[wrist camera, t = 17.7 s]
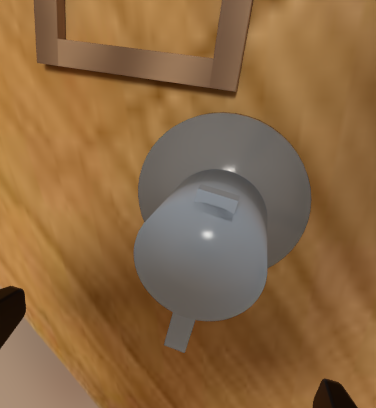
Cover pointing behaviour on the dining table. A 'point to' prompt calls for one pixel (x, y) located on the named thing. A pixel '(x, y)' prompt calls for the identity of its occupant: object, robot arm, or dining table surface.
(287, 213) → the disc
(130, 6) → the dining table surface
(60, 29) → the frame
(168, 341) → the jug
